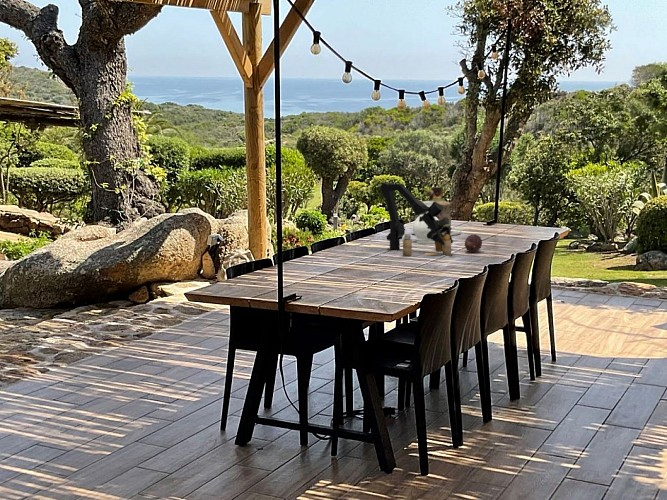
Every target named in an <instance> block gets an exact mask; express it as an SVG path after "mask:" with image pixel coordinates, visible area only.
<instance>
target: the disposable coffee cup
mask: <svg viewBox="0 0 667 500" xmlns="http://www.w3.org/2000/svg"><path fill="white" fill-rule="evenodd" d="M440 237H441V238H442V240H443V239H444V238H443V237H442V235H440ZM434 247H435V251H436V252H442V244H440V243H438V242H436V241H435V244H434Z"/></svg>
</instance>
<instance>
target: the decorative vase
mask: <svg viewBox="0 0 667 500" xmlns="http://www.w3.org/2000/svg"><path fill="white" fill-rule="evenodd" d="M421 202H423V203H424V204H425V205H426V206H427V207H430V206H431V205H432V204H433V202H432V201H428V200H422V201H421ZM427 213H428V212H427ZM427 213H426V214H427ZM423 215H424V214H422V215H417V217H416V219H414V222H413V223H412V226H411V227H412V233H414V234H413V235H415V236H416V238H417V239H418V240H417V241H416V243H417V244H418V245H419V244H421V245H435V241H434V240H431V239H428V237H427V234H428V232H429V231H430V229H428V228H427V227H428V226H427V225H426V223H425V222H424V221H421V222H419V219H420V218H419V217H422V216H423ZM434 218H435V219H436V220H438V218H437V217H434Z"/></svg>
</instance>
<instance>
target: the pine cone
mask: <svg viewBox="0 0 667 500" xmlns="http://www.w3.org/2000/svg"><path fill="white" fill-rule="evenodd" d="M482 246H483V240H482V239H481V236H479V235H477V234H470V235H468V236H467V237H466V238H465V240H464V247H465V249H466V251H468V252H471V253H476V252H477V251H480V249H481V248H482Z"/></svg>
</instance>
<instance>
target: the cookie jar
mask: <svg viewBox="0 0 667 500" xmlns="http://www.w3.org/2000/svg"><path fill="white" fill-rule="evenodd" d="M426 195H427V197H429V198H428V199H427V201H432V202H437V203H439V204H440V205H442V207H443V209H444V210H443V211H442V212H441V213H440V214H439V215H438V216H437V218H438V220H439V221H440V220H442V219H443V218H445V217H447V218H448V219H449V224H446V225H444V226H450V227H451V226H452V217H451V210H450V209H451V208H450V207H451V204H452V203H451V202H449V201H446V200H445V199H444V198H443V196H444V185H441V186H433V187H431V189H430V190H427V193H426ZM443 228H444V227H443ZM443 228H442V229H443ZM451 228H452V227H451ZM462 232H463V231H462V230H455V231H454V230H451V231H450V235H451V236H455V235H456V236H457V235H461V233H462ZM410 235H415V234H414V232H411V234H410Z"/></svg>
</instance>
